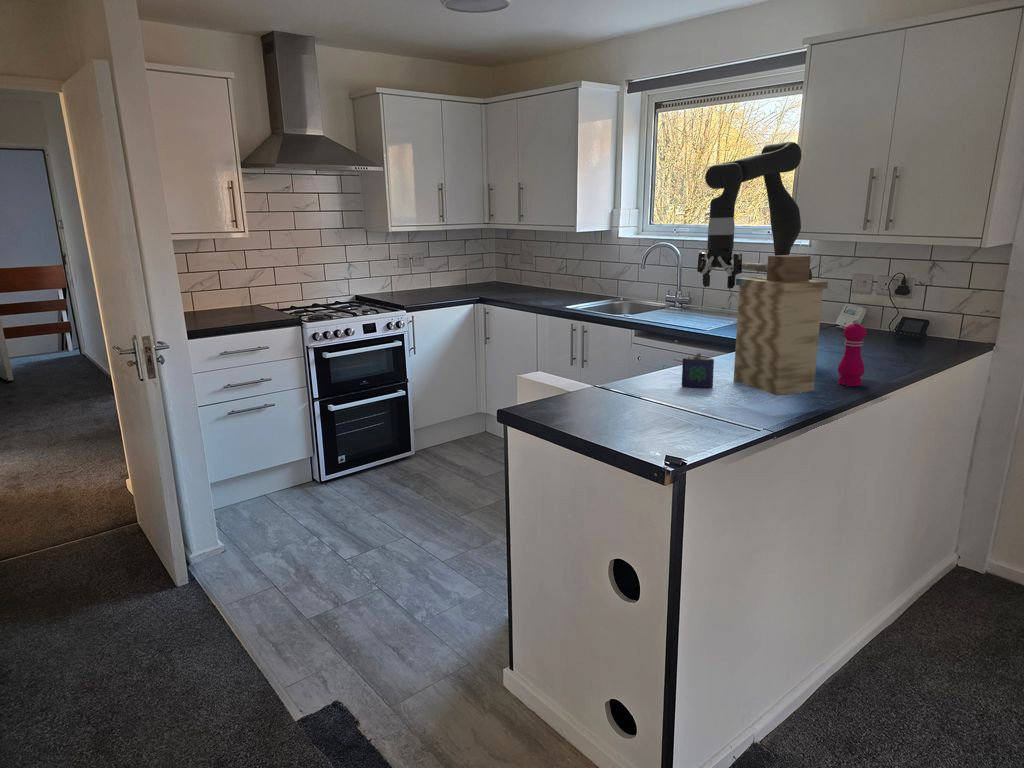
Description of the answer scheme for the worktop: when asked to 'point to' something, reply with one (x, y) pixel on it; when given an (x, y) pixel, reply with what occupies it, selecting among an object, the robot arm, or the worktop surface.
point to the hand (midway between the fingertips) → (718, 287)
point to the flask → (697, 372)
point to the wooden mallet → (783, 268)
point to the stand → (778, 334)
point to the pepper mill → (852, 355)
